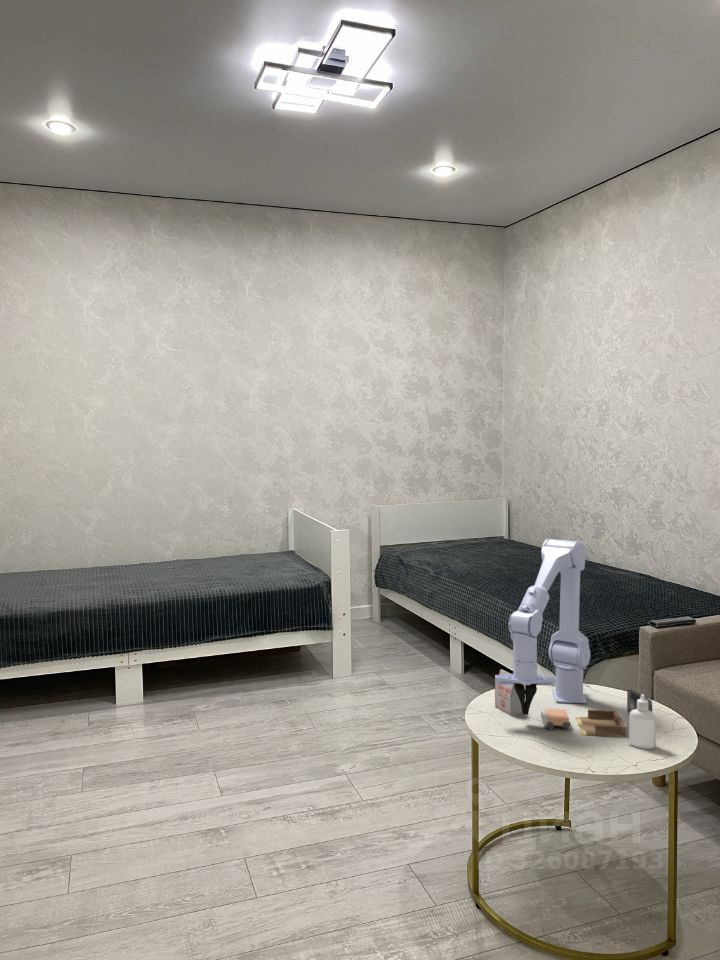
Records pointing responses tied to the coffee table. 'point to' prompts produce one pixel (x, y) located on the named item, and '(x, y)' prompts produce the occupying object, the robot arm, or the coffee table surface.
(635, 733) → the eye dropper bottle
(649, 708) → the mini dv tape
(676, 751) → the coffee table surface
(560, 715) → the trolley
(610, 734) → the tray
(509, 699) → the gable top carton
